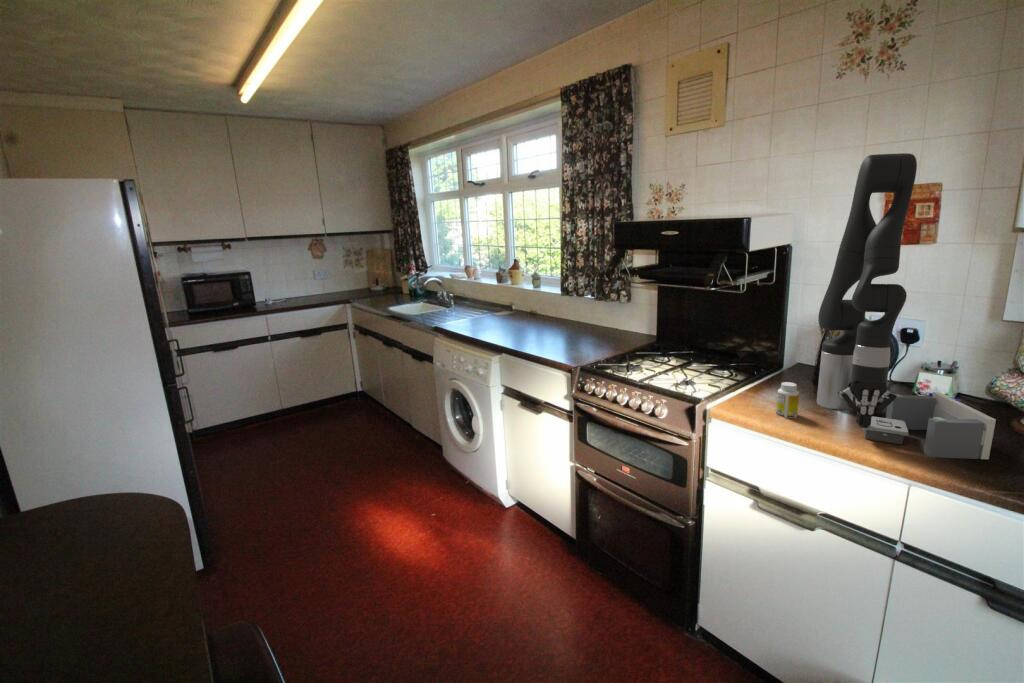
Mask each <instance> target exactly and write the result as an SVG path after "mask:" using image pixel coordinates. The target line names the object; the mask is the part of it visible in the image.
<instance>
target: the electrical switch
mask: <svg viewBox="0 0 1024 683" xmlns="http://www.w3.org/2000/svg"><path fill="white" fill-rule="evenodd" d="M862 429H863V433H864V439H866V440H871V441H877V442H883V443H890V444H896V445H901V446H902V445H903V444H904V438H905V436H909V429H907V427H906V424H905V422H904V421H902V420H895V419H888V418H886V417H879V416H873V415H872V418H871V425H870V426H868V428H862Z"/></svg>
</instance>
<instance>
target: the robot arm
mask: <svg viewBox="0 0 1024 683" xmlns="http://www.w3.org/2000/svg"><path fill="white" fill-rule="evenodd" d="M917 164H918V162H917V158H916V156H915V155H914V154H913V153H908V152H907V153H906V152H905V153H901V152H900V153H899V152H898V153H883V154H882V153H881V154H878V153H877V154H870V155H867V156H866V157H865V158H864V159H863V160H862V162H861V165H860V167H859V170H858V173H857V179H856V181H855V182H856V183H855V186H854V192H853V197H852V202H851V208H850V211H849V216H848V219H847V222H846V226H845V228H844V232H843V235H842V238H841V241H840V244H839V248H838V250H837V251H838V252H837V254H836V258H835V259H836V260H835V264H834V268H833V271H832V274H831V278H830V281H829V283H828V287H827V289H826V292H825V294H824V297H823V300H822V301H821V305H820V308H819V312H818V317H817V318H818V324H819V327H820V328H821V329H823V330H826V331H842V332H841V333H840V334H839V335H837V336H835V337H832V338H829V339H827V340H824V341H823V342H822V344H821V354H820V355H821V356H820V365H819V374H818V386H817V395H816V404H817V405H818V406H821V407H823V408H826V409H830V410H831V409H832V410H838V411H843V410H844V411H847V410H852V411H853V412H854V413H855V412H856V419H855V423H856V425H857V426H858V427H859V428H861V429H863V428H868V426H870V425H871V418H872V416H873V414H876V413H878V414H879V413H881V412H883V411H884V410H885V409H887V406H888V405H889V404H890V403H891V402H893V401H894V400H895V399H896V398H897V396H896V395H894V394H895V393H893V392H891V391H889V387H888V385H887V382H888V377H889V369H890V368H889V367H890V363H891V344H892V336H893V330H894V327H895V324H896V321H897V319H898V317H899V315H900V313H901V312H902V310H903V307H904V306H905V303H906V301H907V297H908V296H907V290H906V289H905V287H903V286H902V285H901V284H898V283H872V282H873V280H874V279H876V278H880V277H884V276H889V275H894V274H896V273H897V272H898V271H899V268H900V258H901V250H902V249H901V246H902V239H903V238H902V237H903V233H904V232H903V231H904V227H905V222H906V218H907V215H908V211H909V207H910V203H911V198H912V194H913V190H914V186H915V181H916V176H917V168H918V165H917ZM875 193H876V194H881V193H882V194H884V193H885V194H886V193H893V199H892V203H891V204H890V207H889V209H888V210H887V212H886V213H885V214H884V216H883V217H882V218H881V219H880V221H879V222H877V223H876V220H875V219H874V217H873V214H872V210H871V207H870V202H871V201H870V200H871V196H872V194H875ZM856 283H857V284H856ZM855 284H856V287H855V289H854V292H853V294H852V297H851V299H844V297H845V295H846V294H847V293H848V291H849V290H850V289H851V288H852V287H853V286H854V285H855ZM866 313H884V314H883V316H882V317H879V318H878V319H873V320H866ZM865 320H866V321H865ZM853 398H855V399H853ZM853 400H855V402H853Z"/></svg>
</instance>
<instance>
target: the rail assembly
mask: <svg viewBox="0 0 1024 683" xmlns="http://www.w3.org/2000/svg"><path fill="white" fill-rule="evenodd" d="M932 393H933V395H932V396H929V395H913V394H912V395H911V394H910V395H909V394H908V395H907V394H906V395H904V394H899V393H893V394H894V395H896V396H897V398H896V399H895V400H894V401H893V402H891V403H890V404H889V405H888V406H887V407H886V412H885V418H888V419H895V420H902V421H904V422H905V424H906V427H907V429H908V430H912V431H913V430H915V431H926V435H925V440H924V441H925V442H924V448H923V453H924V454H925V455H926V456H928V457H929V458H939V459H940V458H942V459H970V460H971V459H972V460H979V459H980V460H989V459H990V454H991V448H992V442H993V438H994V432H995V426H996V421H997V419H996V418H993V417H992V416H989V415H988V414H985V413H984V412H982V411H979V410H977V409H974V408H973V407H971V406H968V405H966V404H964V403H962V402H961V403H960V402H958V401H956V400H954V399H952V398H953V397H951V398H950V396H949V395H948V396H947V395H946V394H944V393H942V392H940V391H939V392H938V391H935V392H933V391H932Z"/></svg>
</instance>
